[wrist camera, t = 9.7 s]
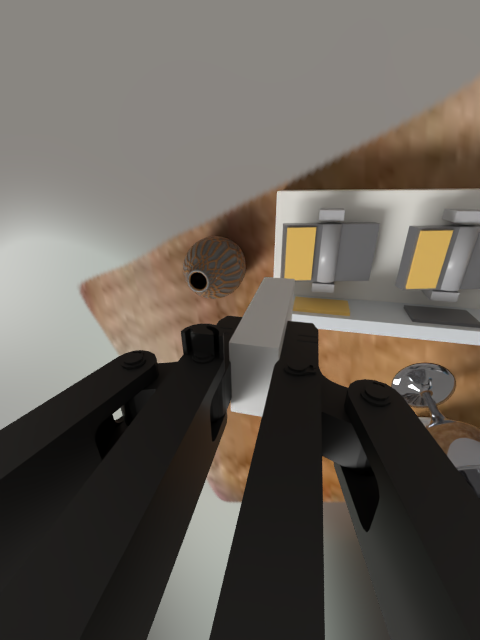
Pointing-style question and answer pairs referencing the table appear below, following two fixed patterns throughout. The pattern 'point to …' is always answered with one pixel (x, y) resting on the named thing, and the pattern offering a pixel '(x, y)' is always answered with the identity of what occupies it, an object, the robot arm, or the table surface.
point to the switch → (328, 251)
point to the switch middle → (440, 258)
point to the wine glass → (442, 416)
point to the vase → (214, 267)
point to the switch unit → (383, 264)
